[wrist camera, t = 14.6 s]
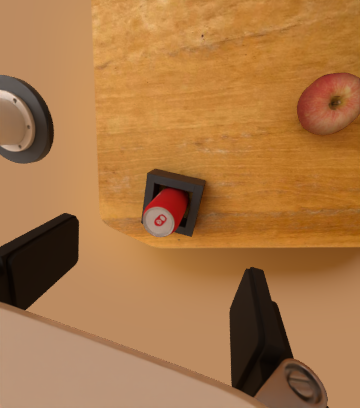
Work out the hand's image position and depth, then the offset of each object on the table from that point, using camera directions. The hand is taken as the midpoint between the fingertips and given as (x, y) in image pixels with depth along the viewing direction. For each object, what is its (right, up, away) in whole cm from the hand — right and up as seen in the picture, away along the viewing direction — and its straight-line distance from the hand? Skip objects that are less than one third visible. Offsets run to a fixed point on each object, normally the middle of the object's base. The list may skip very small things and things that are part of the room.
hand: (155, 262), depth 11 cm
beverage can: (0, +4, +32) cm, 33 cm away
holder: (0, +4, +32) cm, 33 cm away
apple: (+23, +19, +22) cm, 37 cm away
